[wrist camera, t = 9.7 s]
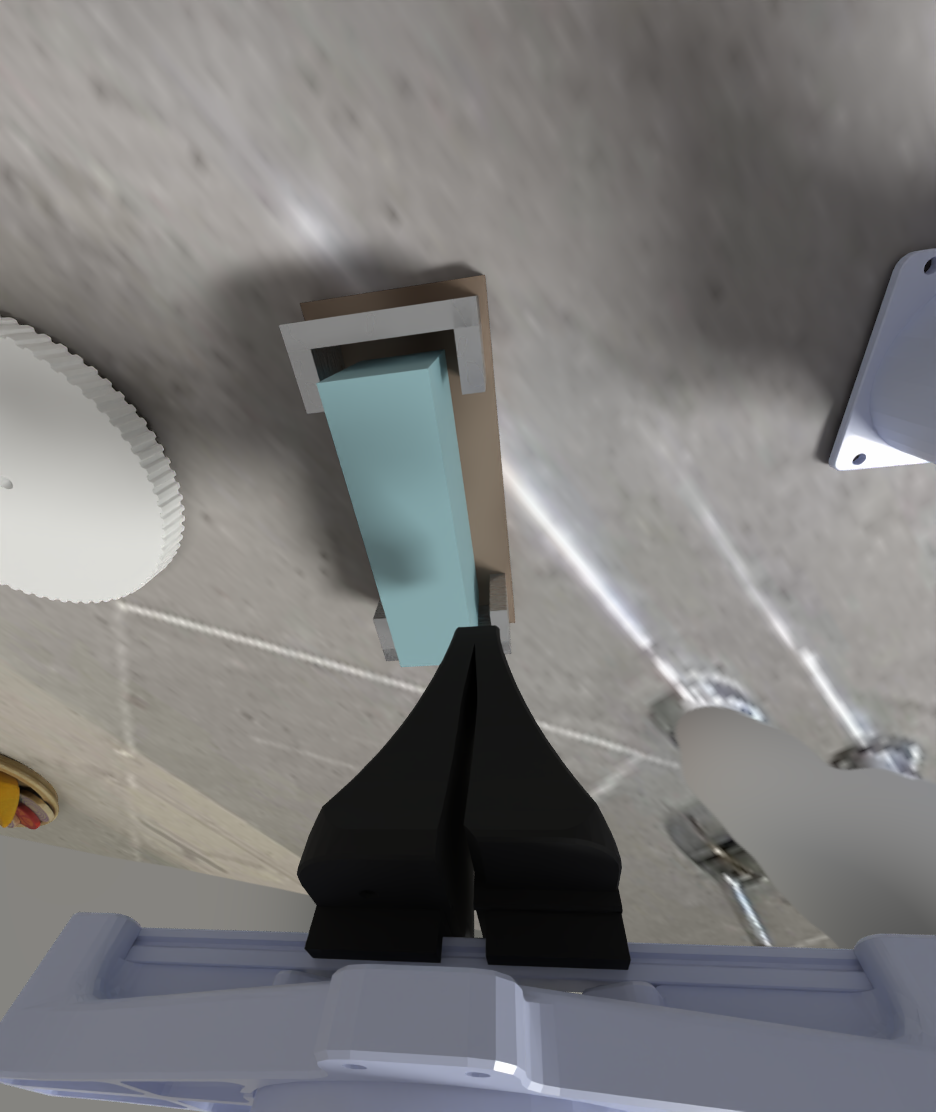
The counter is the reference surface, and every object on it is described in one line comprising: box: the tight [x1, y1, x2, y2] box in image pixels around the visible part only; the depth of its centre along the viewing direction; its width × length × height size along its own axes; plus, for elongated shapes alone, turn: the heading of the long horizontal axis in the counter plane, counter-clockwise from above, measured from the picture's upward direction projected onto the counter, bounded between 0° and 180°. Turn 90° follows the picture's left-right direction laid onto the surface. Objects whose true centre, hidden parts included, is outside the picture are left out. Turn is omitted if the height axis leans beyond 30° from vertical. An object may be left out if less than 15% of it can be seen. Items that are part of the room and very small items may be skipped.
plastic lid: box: [0, 316, 185, 603], centre depth 20 cm, size 14×14×2 cm
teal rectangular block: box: [316, 349, 479, 667], centre depth 17 cm, size 3×12×5 cm, turn 7°
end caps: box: [279, 296, 511, 661], centre depth 18 cm, size 6×15×3 cm, turn 7°
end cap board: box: [300, 275, 515, 623], centre depth 20 cm, size 7×16×1 cm, turn 7°
